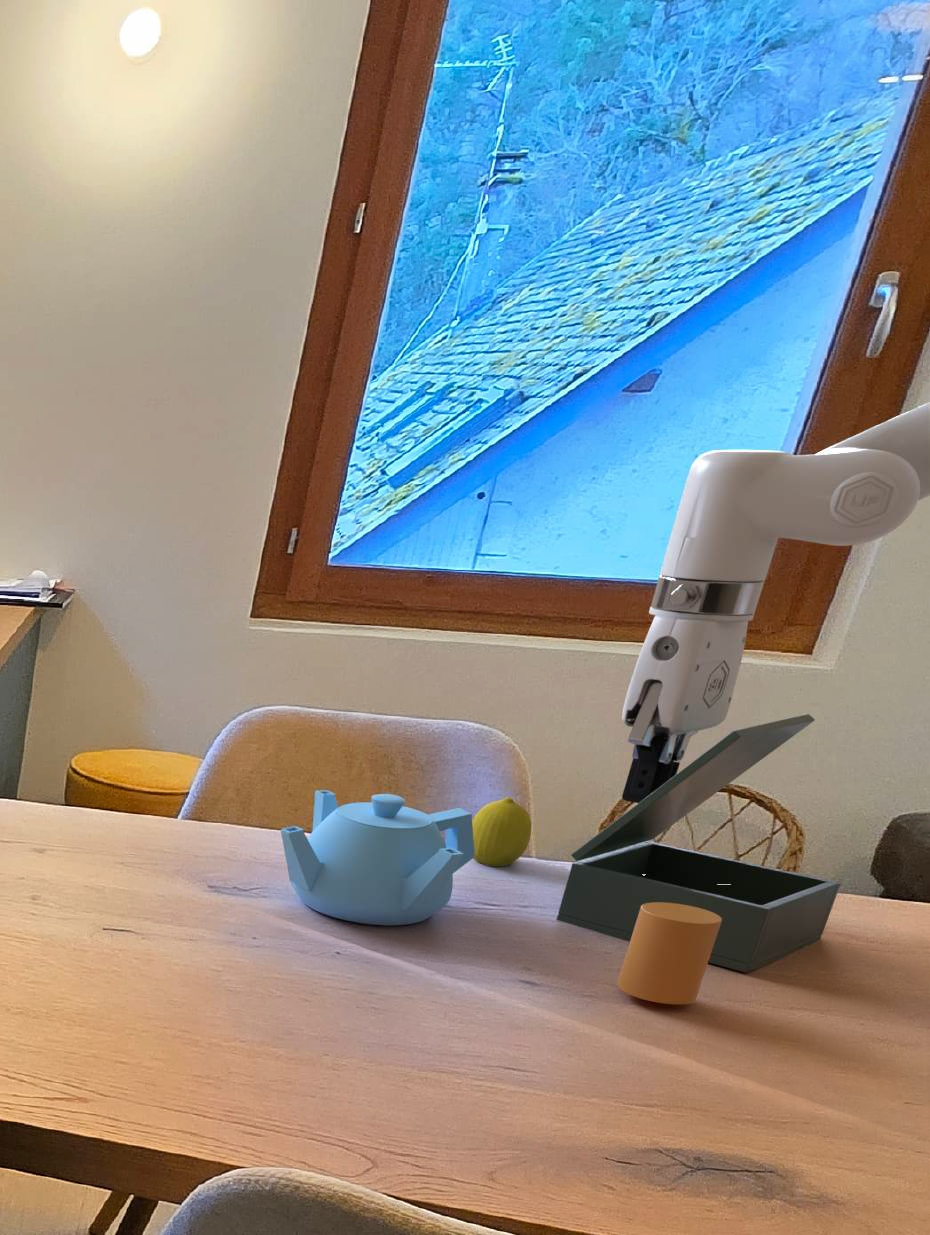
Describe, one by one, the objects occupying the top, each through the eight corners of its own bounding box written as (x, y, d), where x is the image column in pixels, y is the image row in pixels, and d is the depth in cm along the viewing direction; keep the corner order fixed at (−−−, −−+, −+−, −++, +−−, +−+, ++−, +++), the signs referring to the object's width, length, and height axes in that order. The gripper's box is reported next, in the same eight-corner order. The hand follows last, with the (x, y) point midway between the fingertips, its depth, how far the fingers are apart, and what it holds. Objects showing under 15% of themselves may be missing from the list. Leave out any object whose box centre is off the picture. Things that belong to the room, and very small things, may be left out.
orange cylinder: (707, 996, 116) (734, 916, 114) (676, 1009, 114) (703, 927, 111) (635, 975, 121) (660, 898, 118) (604, 988, 118) (628, 908, 115)
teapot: (438, 947, 128) (468, 833, 123) (262, 912, 136) (284, 804, 131) (464, 896, 139) (493, 790, 134) (300, 867, 147) (322, 766, 142)
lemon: (530, 879, 146) (551, 805, 143) (476, 880, 146) (496, 806, 143) (501, 861, 151) (520, 789, 148) (448, 862, 151) (467, 790, 148)
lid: (815, 719, 126) (808, 713, 126) (740, 737, 118) (733, 730, 119) (652, 839, 138) (646, 833, 139) (576, 861, 131) (570, 855, 131)
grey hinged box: (819, 943, 129) (841, 882, 126) (746, 973, 121) (768, 909, 119) (631, 897, 141) (648, 840, 139) (555, 921, 134) (572, 862, 131)
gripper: (713, 609, 118) (648, 822, 125) (792, 599, 125) (727, 801, 133) (616, 600, 124) (559, 803, 131) (696, 590, 131) (639, 784, 138)
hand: (644, 801), depth 132 cm, fingers closed
